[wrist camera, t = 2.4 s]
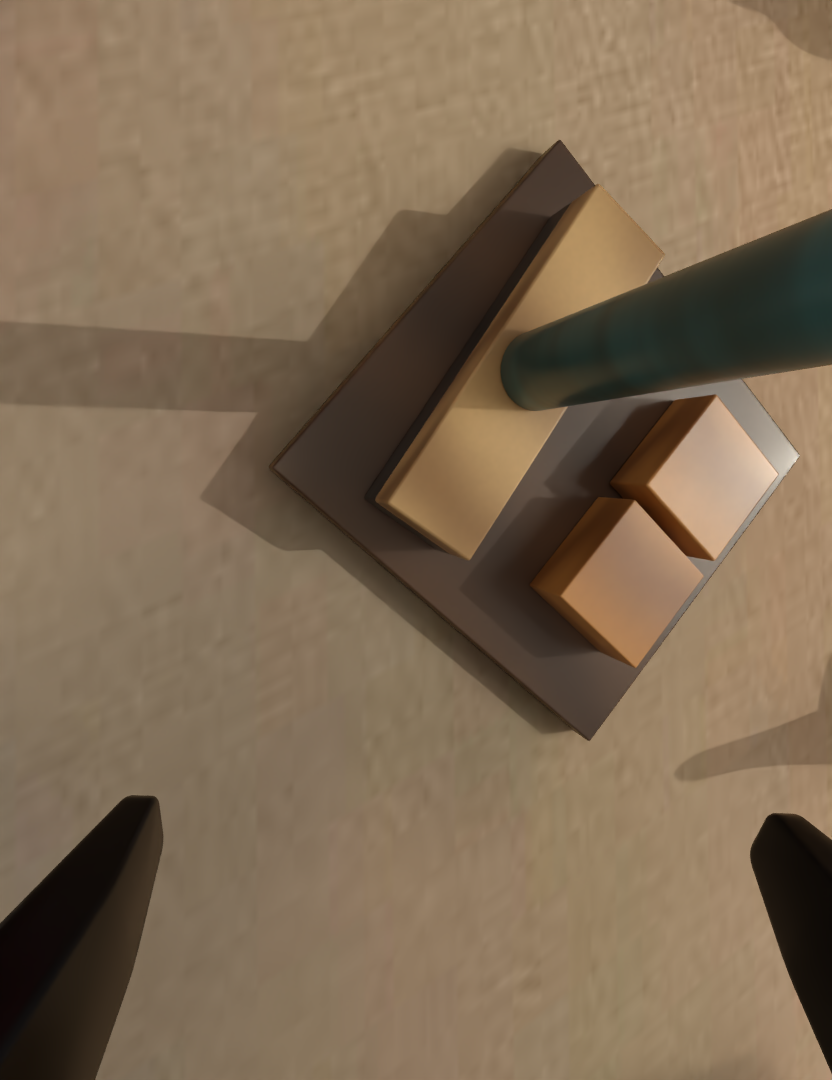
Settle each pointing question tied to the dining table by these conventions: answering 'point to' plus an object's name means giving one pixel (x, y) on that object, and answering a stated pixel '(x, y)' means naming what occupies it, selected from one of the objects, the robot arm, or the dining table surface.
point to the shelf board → (541, 496)
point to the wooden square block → (697, 475)
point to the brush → (598, 353)
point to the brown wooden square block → (618, 579)
